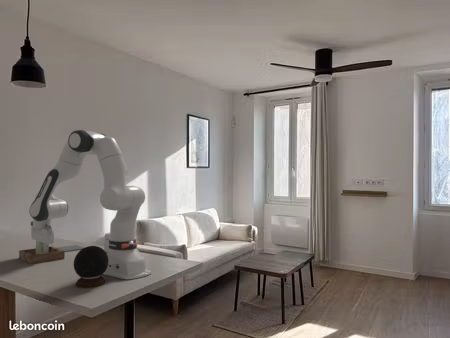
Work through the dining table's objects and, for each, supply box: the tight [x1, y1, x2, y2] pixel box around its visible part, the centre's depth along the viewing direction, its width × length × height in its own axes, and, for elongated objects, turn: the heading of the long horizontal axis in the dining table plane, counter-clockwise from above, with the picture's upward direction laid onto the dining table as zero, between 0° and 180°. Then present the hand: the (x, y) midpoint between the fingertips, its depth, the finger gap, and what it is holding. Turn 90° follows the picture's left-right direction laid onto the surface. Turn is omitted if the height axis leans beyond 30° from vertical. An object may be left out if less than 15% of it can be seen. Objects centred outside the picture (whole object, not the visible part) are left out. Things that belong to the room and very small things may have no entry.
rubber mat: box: [56, 244, 85, 253], centre depth 199 cm, size 12×12×1 cm
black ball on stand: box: [73, 245, 109, 289], centre depth 137 cm, size 13×13×15 cm
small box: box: [103, 231, 110, 253], centre depth 195 cm, size 8×6×10 cm
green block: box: [35, 240, 50, 255], centre depth 175 cm, size 4×4×9 cm
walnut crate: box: [18, 245, 66, 265], centre depth 175 cm, size 16×16×4 cm
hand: (42, 250), depth 175 cm, fingers closed on green block, 4 cm apart
